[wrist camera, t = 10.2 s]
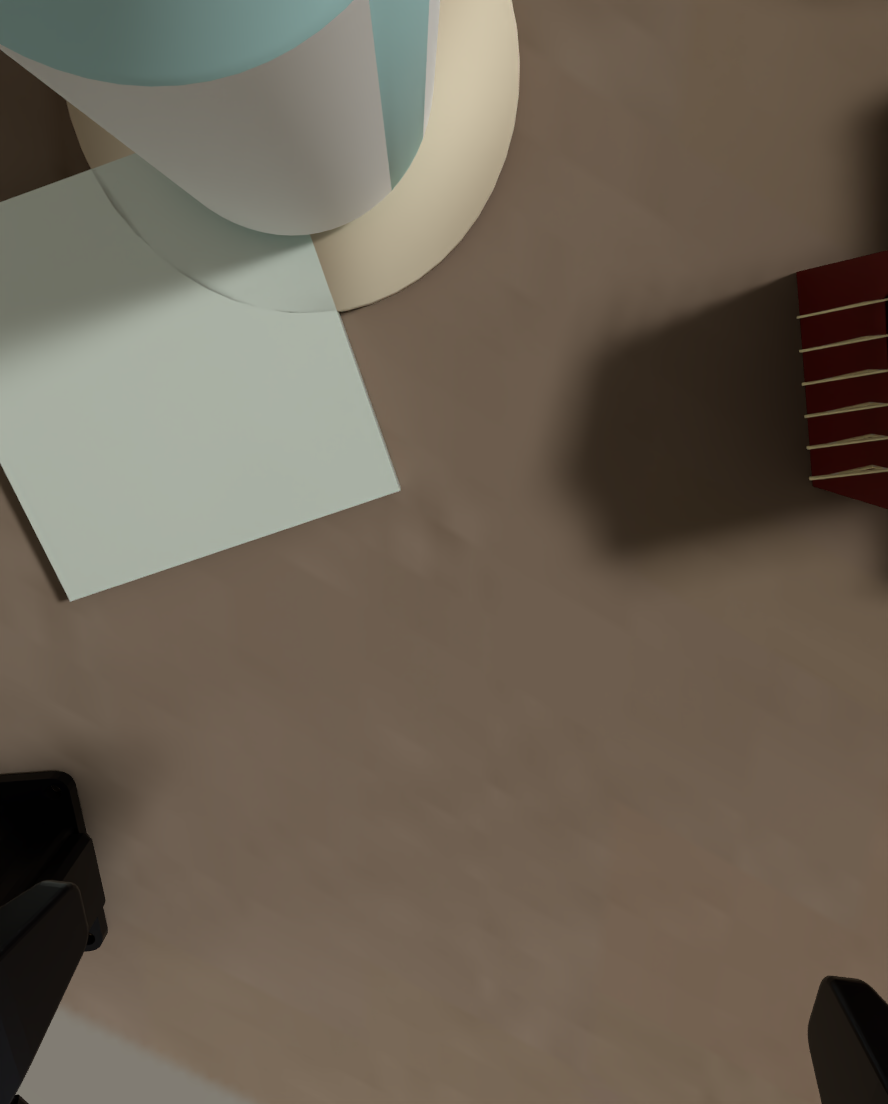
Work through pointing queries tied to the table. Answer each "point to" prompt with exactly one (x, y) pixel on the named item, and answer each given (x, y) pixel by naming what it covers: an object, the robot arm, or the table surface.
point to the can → (246, 94)
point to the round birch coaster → (414, 161)
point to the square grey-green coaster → (169, 379)
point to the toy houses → (847, 375)
